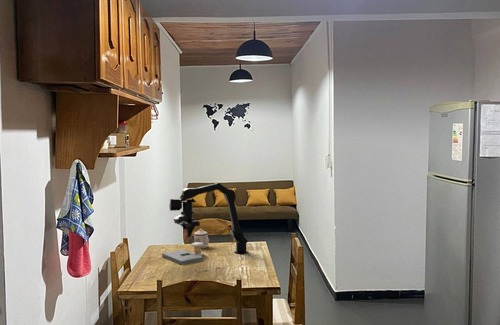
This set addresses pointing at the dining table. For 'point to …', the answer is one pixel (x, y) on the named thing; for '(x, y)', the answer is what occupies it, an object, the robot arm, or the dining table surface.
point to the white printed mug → (201, 238)
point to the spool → (198, 248)
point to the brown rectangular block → (186, 235)
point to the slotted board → (182, 257)
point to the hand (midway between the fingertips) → (187, 236)
